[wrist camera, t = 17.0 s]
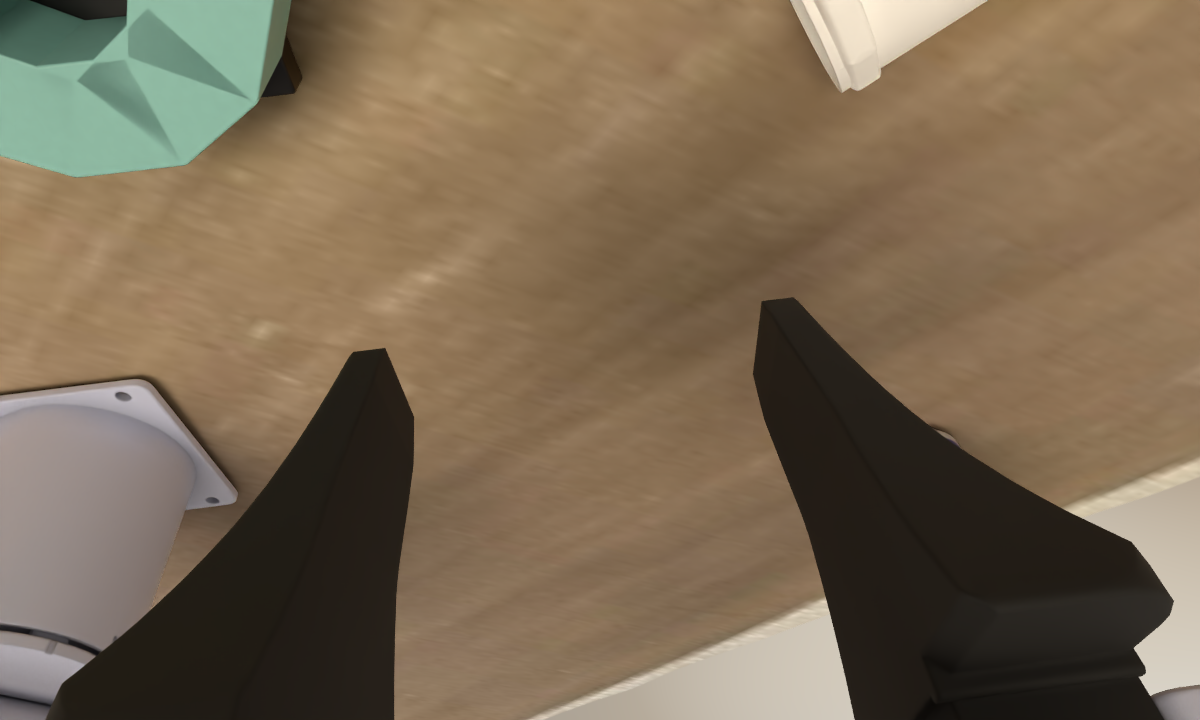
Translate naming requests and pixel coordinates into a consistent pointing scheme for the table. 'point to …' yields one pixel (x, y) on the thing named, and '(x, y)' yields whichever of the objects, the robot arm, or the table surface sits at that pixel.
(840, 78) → the knuckle duster
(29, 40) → the ring
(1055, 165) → the table surface
